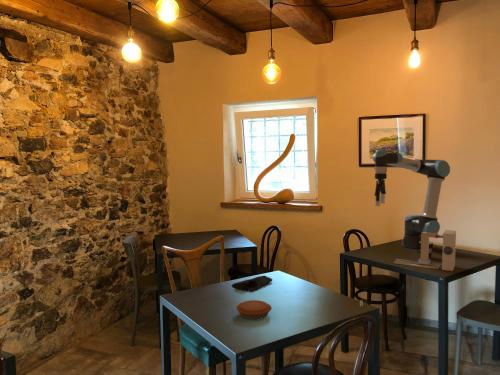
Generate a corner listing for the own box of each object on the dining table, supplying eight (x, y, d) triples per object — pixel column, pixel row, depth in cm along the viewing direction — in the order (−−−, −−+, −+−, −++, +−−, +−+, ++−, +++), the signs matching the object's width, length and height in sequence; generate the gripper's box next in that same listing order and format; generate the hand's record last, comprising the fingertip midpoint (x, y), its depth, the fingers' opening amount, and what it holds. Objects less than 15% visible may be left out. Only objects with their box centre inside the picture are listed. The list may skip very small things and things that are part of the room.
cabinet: (444, 264, 271) (445, 230, 269) (454, 266, 268) (456, 230, 266) (441, 269, 260) (443, 233, 258) (452, 271, 257) (454, 234, 255)
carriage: (420, 260, 276) (421, 231, 274) (435, 262, 271) (436, 232, 269) (418, 263, 270) (419, 233, 268) (434, 265, 265) (435, 234, 263)
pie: (249, 325, 181) (249, 313, 181) (229, 313, 194) (229, 302, 193) (278, 316, 190) (278, 305, 190) (257, 306, 203) (257, 295, 202)
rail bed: (397, 259, 284) (397, 257, 284) (440, 264, 272) (440, 262, 272) (393, 263, 275) (393, 261, 275) (438, 269, 262) (438, 267, 262)
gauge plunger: (435, 237, 268) (436, 232, 268) (453, 239, 263) (454, 234, 263) (435, 238, 265) (435, 233, 265) (453, 240, 260) (453, 235, 260)
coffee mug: (430, 255, 294) (431, 241, 293) (434, 259, 285) (435, 244, 284) (412, 255, 295) (413, 241, 294) (416, 258, 286) (416, 243, 286)
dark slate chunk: (277, 283, 237) (277, 275, 236) (249, 294, 221) (249, 284, 220) (256, 278, 247) (256, 270, 247) (228, 287, 231) (228, 278, 231)
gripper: (379, 171, 303) (378, 202, 305) (370, 173, 282) (369, 206, 284) (390, 172, 300) (389, 202, 301) (382, 174, 278) (381, 207, 280)
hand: (380, 204), depth 292 cm, fingers open, 13 cm apart
